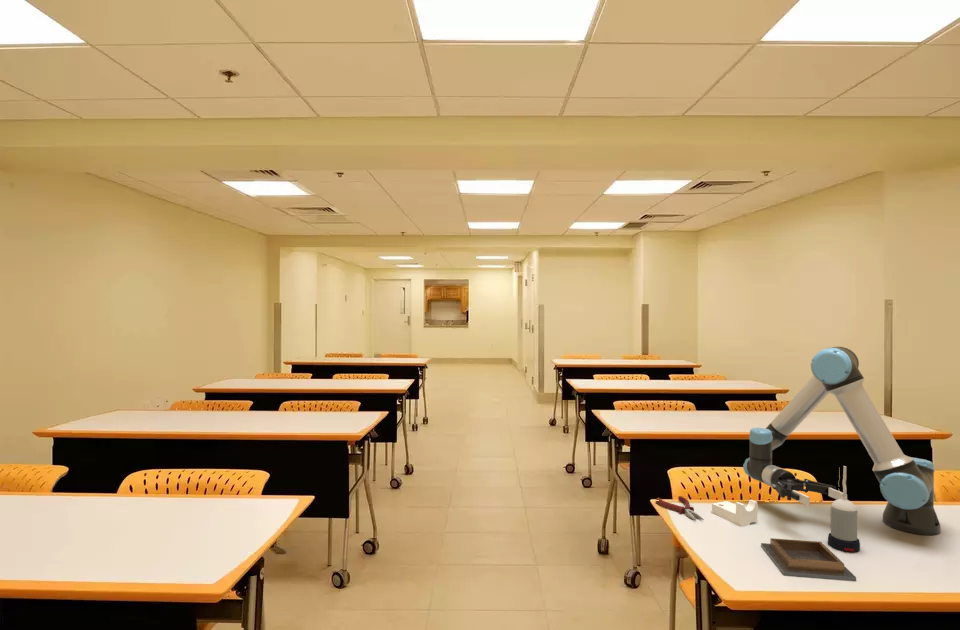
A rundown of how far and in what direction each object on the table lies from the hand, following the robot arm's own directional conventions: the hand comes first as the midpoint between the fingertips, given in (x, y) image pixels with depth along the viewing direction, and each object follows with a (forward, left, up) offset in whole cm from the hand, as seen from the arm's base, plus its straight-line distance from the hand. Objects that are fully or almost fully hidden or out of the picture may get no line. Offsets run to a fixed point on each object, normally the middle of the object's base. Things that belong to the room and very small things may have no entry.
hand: (827, 500), depth 168 cm
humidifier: (-2, +5, -13) cm, 14 cm away
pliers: (+42, -17, -13) cm, 48 cm away
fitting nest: (+14, +18, -12) cm, 26 cm away
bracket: (+24, -13, -13) cm, 30 cm away
